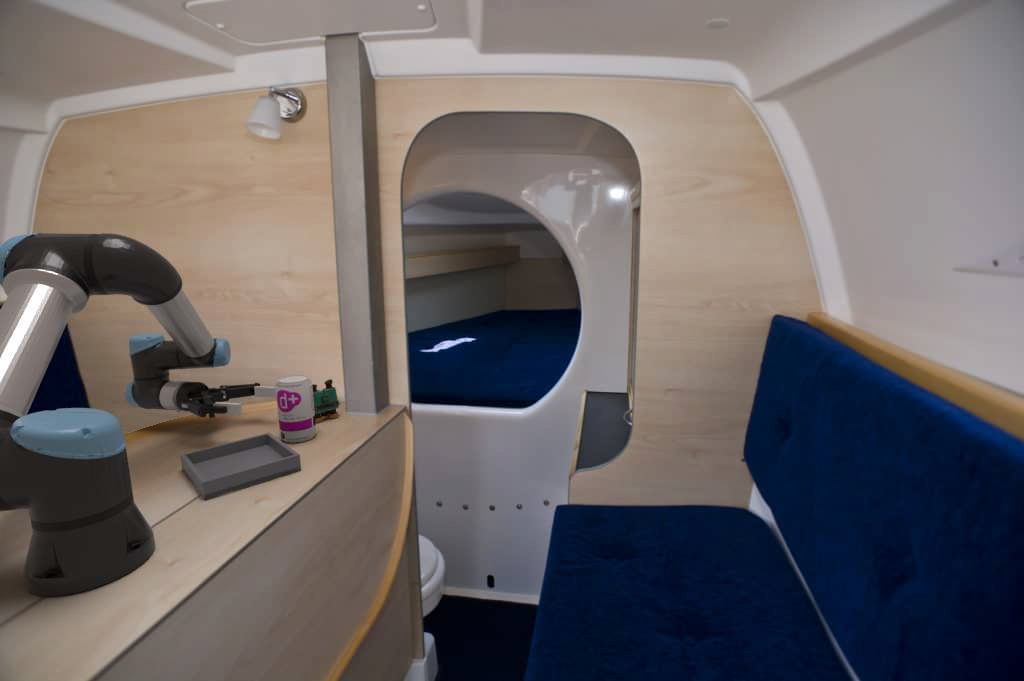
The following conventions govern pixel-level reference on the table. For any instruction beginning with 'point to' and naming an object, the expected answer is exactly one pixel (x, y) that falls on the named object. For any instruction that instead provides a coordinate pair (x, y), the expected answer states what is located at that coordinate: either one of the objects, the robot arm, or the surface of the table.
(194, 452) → the tray
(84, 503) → the robot arm
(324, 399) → the binoculars
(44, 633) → the table surface
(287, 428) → the supplement can
